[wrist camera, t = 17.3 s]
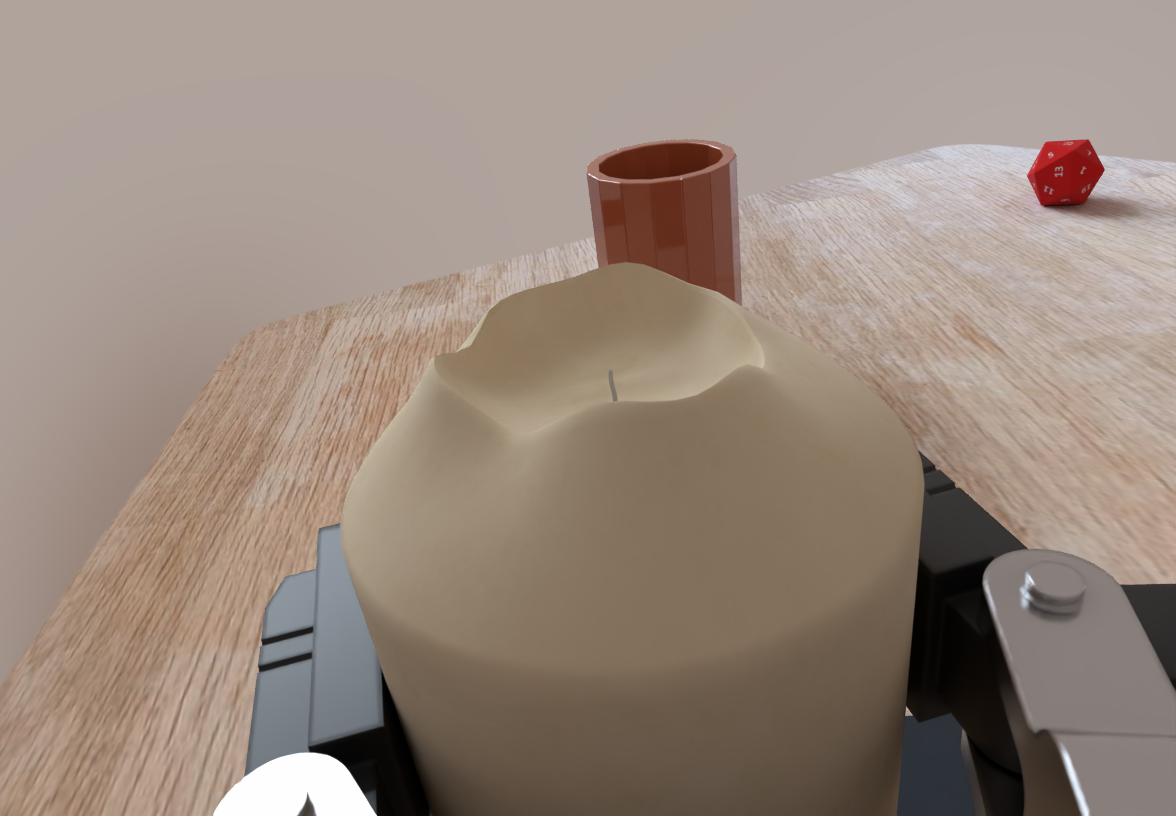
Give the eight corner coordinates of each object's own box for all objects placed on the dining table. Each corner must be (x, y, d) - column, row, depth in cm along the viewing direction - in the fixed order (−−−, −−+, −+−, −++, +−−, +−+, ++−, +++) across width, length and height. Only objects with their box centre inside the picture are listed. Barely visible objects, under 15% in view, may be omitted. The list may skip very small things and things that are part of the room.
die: (1043, 199, 47) (1092, 130, 45) (1001, 183, 49) (1046, 118, 48) (1083, 227, 48) (1131, 161, 47) (1040, 210, 51) (1085, 148, 50)
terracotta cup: (613, 402, 36) (586, 190, 32) (610, 340, 41) (586, 150, 37) (753, 386, 36) (746, 171, 31) (732, 326, 41) (724, 132, 36)
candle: (964, 1101, 11) (1105, 400, 6) (525, 1242, 10) (248, 597, 5) (786, 741, 15) (777, 189, 10) (480, 823, 15) (316, 275, 10)
